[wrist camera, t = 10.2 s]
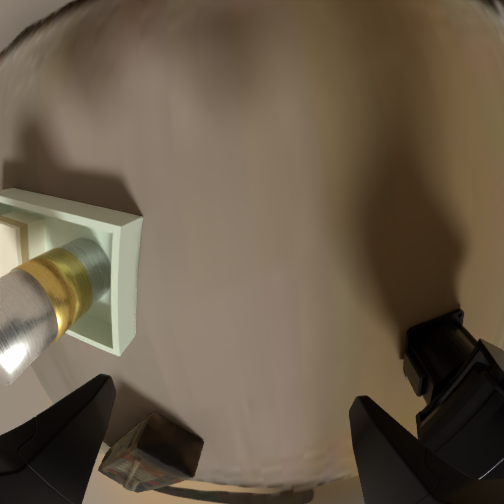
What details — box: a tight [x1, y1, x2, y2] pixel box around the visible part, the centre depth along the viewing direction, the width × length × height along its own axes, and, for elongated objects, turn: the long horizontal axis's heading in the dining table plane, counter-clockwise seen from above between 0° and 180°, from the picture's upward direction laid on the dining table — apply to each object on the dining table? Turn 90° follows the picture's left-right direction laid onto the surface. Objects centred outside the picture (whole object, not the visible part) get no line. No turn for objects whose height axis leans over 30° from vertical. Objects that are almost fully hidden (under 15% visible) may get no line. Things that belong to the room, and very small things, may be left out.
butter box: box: [0, 210, 46, 277], centre depth 19 cm, size 5×7×4 cm
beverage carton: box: [98, 412, 204, 492], centre depth 27 cm, size 8×19×7 cm, turn 140°
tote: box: [0, 188, 143, 356], centre depth 20 cm, size 17×11×4 cm, turn 77°
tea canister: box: [0, 238, 111, 386], centre depth 15 cm, size 6×6×13 cm
